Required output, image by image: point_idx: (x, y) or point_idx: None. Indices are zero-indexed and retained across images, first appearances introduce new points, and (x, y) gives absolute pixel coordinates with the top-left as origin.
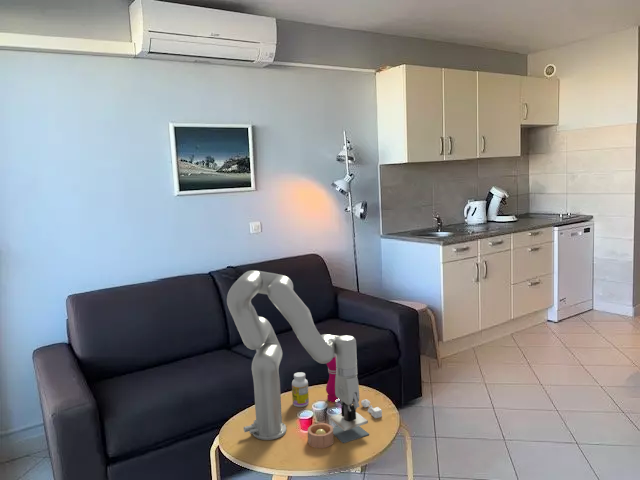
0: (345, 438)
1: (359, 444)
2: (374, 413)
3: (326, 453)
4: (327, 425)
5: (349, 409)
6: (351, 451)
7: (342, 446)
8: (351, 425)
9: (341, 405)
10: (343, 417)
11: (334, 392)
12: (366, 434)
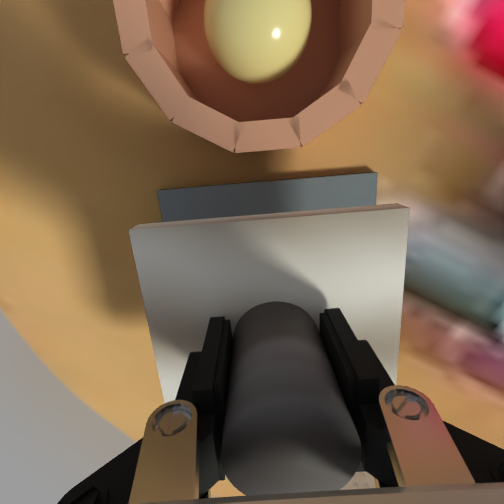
0: None
1: (111, 274)
2: (347, 486)
3: (71, 4)
4: (297, 116)
5: (175, 428)
6: (46, 193)
7: (125, 167)
8: (152, 308)
9: (389, 389)
10: (322, 311)
11: None
12: None
